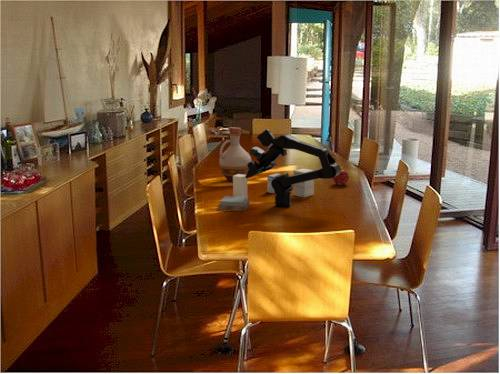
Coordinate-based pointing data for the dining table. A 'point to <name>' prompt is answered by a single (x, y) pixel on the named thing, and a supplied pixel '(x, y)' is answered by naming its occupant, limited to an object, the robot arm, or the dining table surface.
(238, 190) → the ivory pillar block
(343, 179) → the christmas ornament
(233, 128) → the jug
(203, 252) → the dining table surface
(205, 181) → the dining table surface
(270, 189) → the medicine box
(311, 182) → the supplement box
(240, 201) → the slate top slab
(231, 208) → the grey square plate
